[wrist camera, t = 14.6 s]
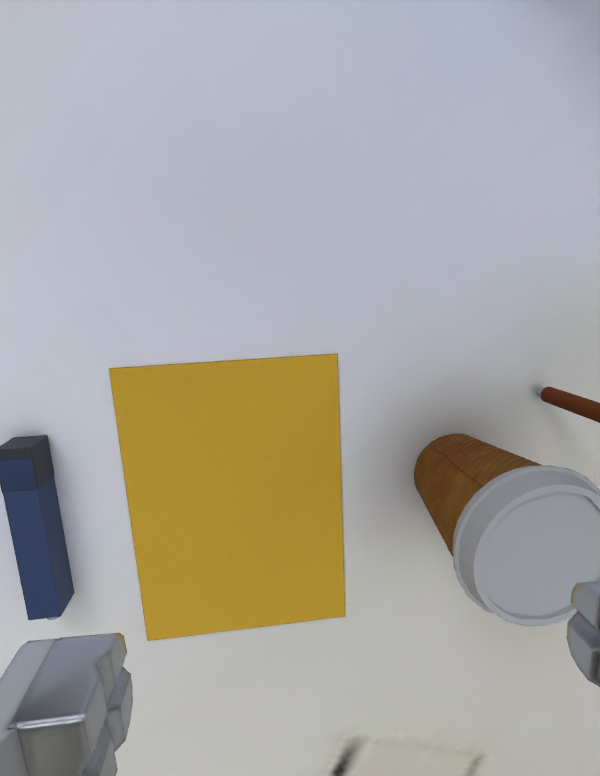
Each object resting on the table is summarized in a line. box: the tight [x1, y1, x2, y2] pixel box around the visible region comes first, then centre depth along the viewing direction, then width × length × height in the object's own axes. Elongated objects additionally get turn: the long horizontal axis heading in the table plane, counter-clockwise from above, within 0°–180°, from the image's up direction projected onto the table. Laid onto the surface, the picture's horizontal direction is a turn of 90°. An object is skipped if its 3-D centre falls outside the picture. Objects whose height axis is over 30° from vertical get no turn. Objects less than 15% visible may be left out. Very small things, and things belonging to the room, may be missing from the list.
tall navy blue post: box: [0, 435, 74, 620], centre depth 32 cm, size 14×2×3 cm, turn 3°
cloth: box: [109, 354, 345, 641], centre depth 35 cm, size 22×16×1 cm
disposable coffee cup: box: [414, 434, 600, 626], centre depth 31 cm, size 10×10×12 cm
